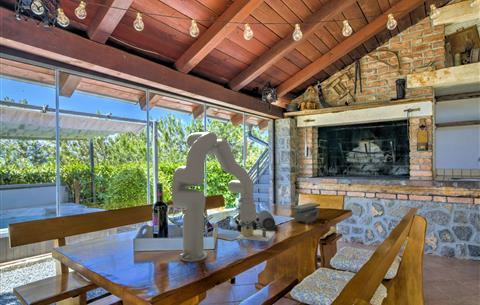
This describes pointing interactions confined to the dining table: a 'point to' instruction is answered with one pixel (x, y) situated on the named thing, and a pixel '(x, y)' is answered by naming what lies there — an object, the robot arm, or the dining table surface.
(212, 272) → the dining table surface
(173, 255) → the dining table surface
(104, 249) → the dining table surface
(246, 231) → the brass ring
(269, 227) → the bluetooth speaker
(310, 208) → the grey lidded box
